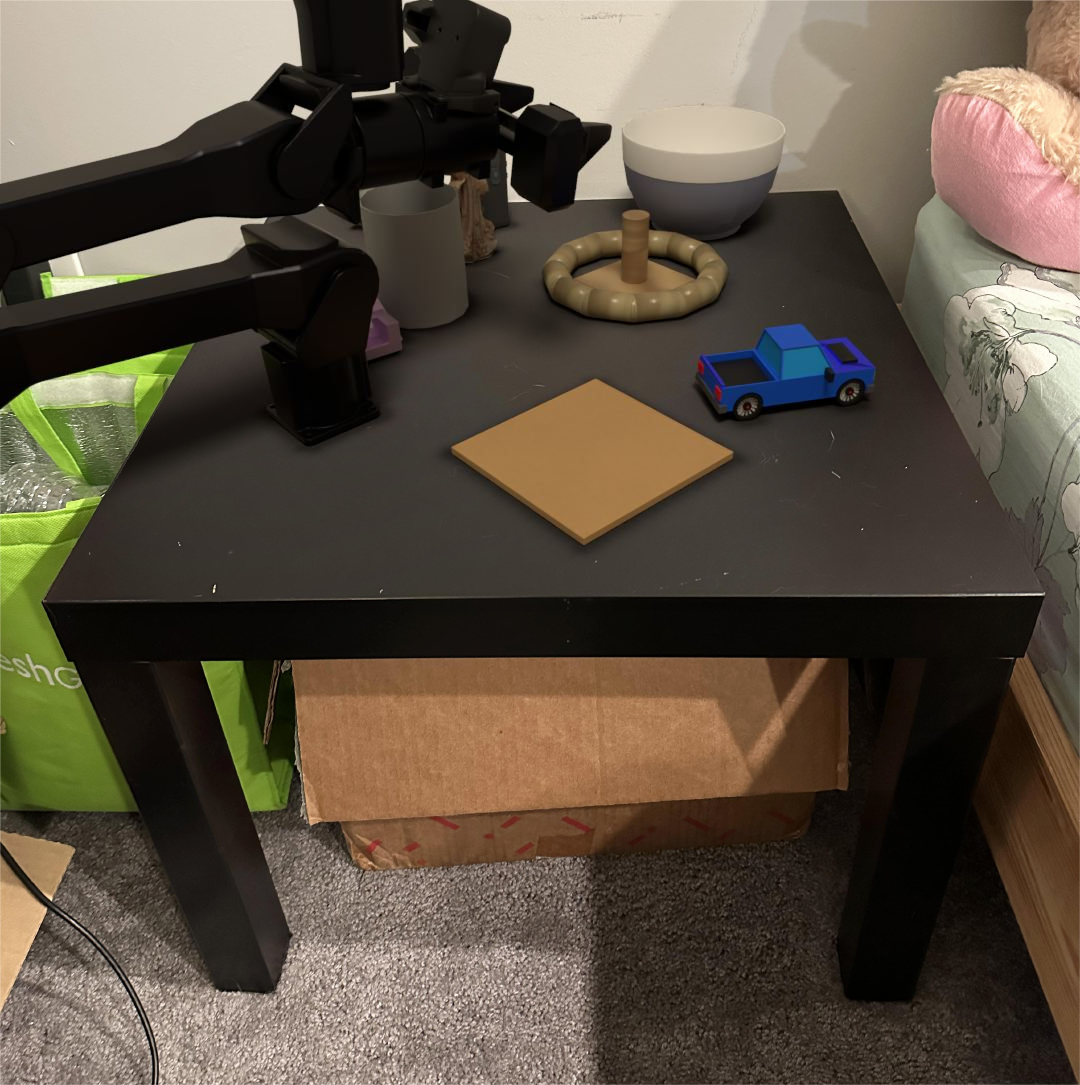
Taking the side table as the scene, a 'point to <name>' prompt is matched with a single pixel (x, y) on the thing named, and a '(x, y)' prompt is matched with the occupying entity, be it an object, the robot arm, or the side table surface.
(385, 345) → the purple jagged faceted chunk
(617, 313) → the segmented tan ring
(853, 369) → the toy car
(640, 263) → the ring toss peg
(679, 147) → the bowl
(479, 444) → the mat
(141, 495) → the side table surface
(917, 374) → the side table surface
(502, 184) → the walkie-talkie
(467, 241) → the figurine
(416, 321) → the cup
